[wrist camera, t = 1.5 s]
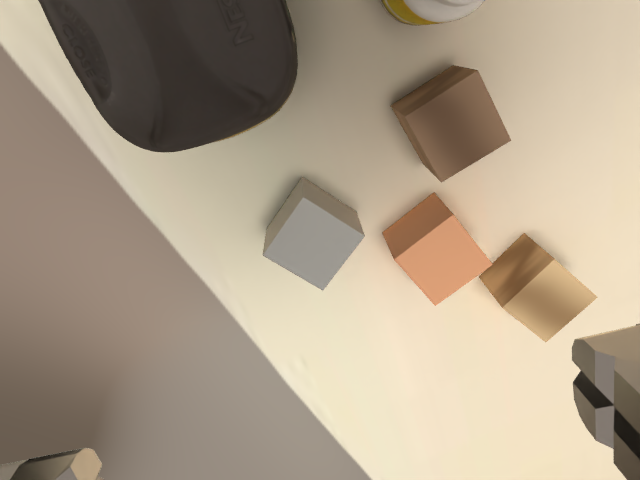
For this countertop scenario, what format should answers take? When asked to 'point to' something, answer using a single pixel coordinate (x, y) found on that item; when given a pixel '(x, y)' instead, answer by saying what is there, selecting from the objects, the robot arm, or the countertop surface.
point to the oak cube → (536, 288)
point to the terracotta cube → (435, 249)
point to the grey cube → (312, 234)
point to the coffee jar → (179, 65)
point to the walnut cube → (451, 121)
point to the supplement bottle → (429, 10)
